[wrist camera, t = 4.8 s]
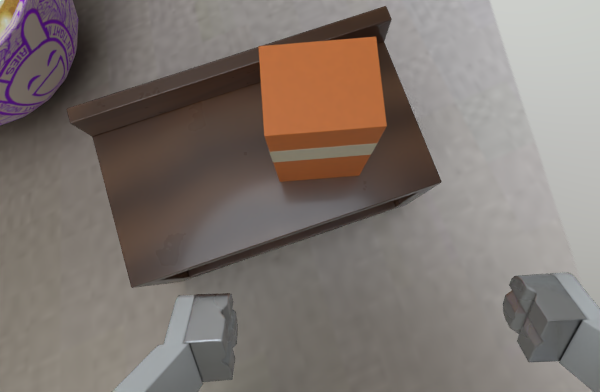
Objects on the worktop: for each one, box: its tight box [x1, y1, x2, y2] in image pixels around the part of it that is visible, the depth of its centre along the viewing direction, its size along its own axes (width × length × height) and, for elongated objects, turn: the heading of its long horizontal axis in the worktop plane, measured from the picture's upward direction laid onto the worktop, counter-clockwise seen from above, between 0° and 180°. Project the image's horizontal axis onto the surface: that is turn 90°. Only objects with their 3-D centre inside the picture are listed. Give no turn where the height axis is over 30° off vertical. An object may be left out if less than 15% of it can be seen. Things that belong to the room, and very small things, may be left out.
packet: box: [258, 37, 387, 182], centre depth 21 cm, size 4×5×9 cm
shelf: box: [67, 6, 441, 288], centre depth 29 cm, size 11×20×12 cm, turn 109°
